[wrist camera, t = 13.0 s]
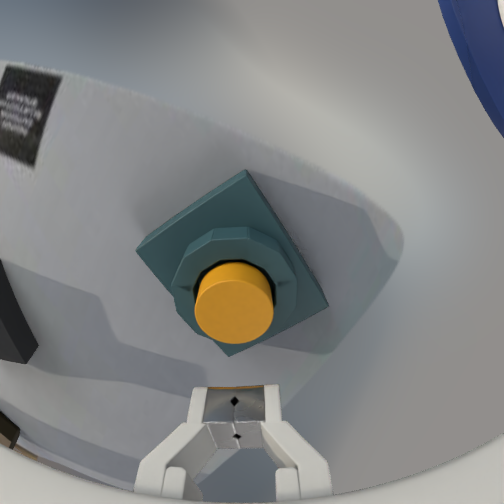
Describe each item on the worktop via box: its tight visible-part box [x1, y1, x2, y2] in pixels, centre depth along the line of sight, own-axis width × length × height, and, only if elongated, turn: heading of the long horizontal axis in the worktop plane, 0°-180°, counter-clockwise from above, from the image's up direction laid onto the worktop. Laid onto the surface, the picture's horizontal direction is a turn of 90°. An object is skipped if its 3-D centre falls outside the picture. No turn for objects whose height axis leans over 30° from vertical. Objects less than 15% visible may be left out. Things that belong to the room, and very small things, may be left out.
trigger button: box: [195, 262, 274, 344], centre depth 16 cm, size 4×4×2 cm
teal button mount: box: [135, 170, 329, 357], centre depth 18 cm, size 10×8×4 cm
